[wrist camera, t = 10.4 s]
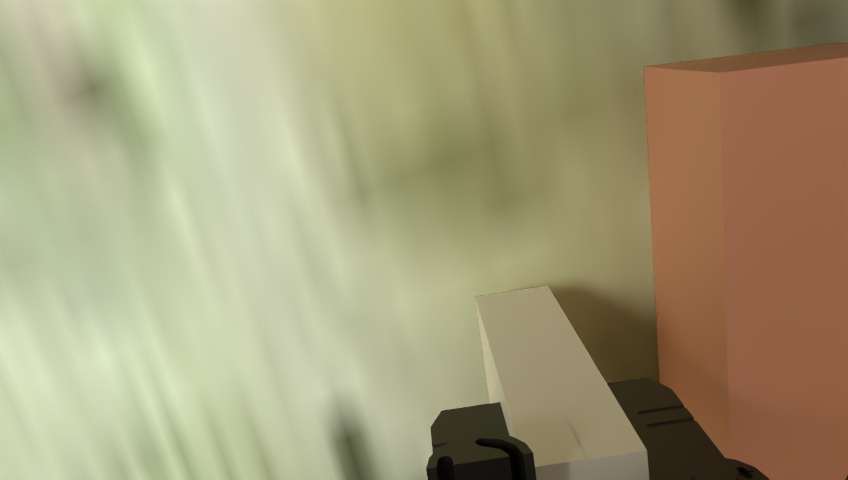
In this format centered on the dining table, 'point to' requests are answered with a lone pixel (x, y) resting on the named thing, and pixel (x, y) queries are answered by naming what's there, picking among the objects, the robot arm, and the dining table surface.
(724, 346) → the t block
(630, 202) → the dining table surface
